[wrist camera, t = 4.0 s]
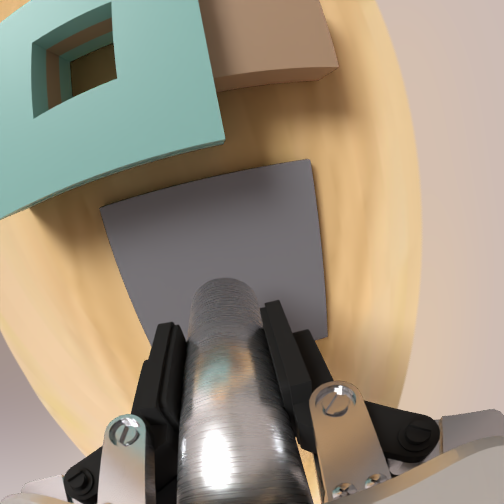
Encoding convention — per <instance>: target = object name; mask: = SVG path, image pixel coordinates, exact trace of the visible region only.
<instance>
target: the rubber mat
mask: <svg viewBox="0 0 504 504" xmlns="http://www.w3.org/2000/svg"><path fill="white" fill-rule="evenodd" d="M99 209H100V213H101V216H102V220H103V223H104V226H105V230H106V233H107V236H108V239H109V242H110V245H111V248H112V251H113V254H114V257H115V260H116V263H117V266H118V268H119V271H120V274H121V276H122V279H123V282H124V284H125V287H126V289H127V292H128V294H129V297H130V299H131V302H132V304H133V307H134V309H135V311H136V314H137V316H138V318H139V320H140V323H141V325H142V327H143V329H144V332H145V334H146V336H147V338H148V340H149V342H150V344H151V346H152V344H153V340H154V336H155V333H156V329H157V326H158V324H161V323H167V322H174V324H175V325H180V327H181V330H182V332H183V335H184V337H185V339H186V342H187V337H188V328H189V320H190V312H191V305H192V299H193V296H194V294H195V292H196V291H197V290H198V289H199V288H200V287H201V286H202V285H203V284H204V283H206V282H208V281H210V280H213V279H216V278H234V279H237V280H240V281H242V282H244V283H246V284H247V285H248V286H249V287H250V288H251V289H252V290H253V291H254V293H255V295H256V297H257V300H258V304H259V308H263V307H265V305H264V303H267V302H271V301H275V300H279V301H280V303H281V305H282V308H283V310H284V313H285V315H286V318H287V320H288V323H289V325H290V328H291V331H292V333H294V332H298V331H302V330H306V329H309V331H310V332H311V334H312V336H313V339H314V341H315V340H318V339H322V338H325V337H328V332H327V312H326V296H325V282H324V269H323V258H322V247H321V238H320V229H319V220H318V212H317V204H316V196H315V189H314V182H313V175H312V168H311V162H310V159H305V160H298V161H292V162H285V163H279V164H273V165H268V166H262V167H257V168H251V169H246V170H241V171H236V172H231V173H227V174H222V175H217V176H213V177H208V178H204V179H200V180H195V181H191V182H187V183H183V184H179V185H175V186H171V187H167V188H164V189H160V190H156V191H153V192H149V193H145V194H142V195H138V196H135V197H132V198H128V199H125V200H122V201H118V202H115V203H112V204H109V205H106V206H103V207H101V208H99Z"/></svg>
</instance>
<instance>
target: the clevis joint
mask: <svg viewBox="0 0 504 504" xmlns="http://www.w3.org/2000/svg"><path fill="white" fill-rule="evenodd" d="M111 43H114V54H115V64H116V73H117V79H114V80H112V81H109V82H107V83H104V84H102V85H99V86H97V87H95V88H92V89H90V90H88V91H86V92H84V93H81V94H79V95H77V96H75V97H73V96H72V85H71V70H70V62H71V61H73V60H75V59H77V58H80V57H82V56H84V55H86V54H88V53H90V52H92V51H95V50H97V49H99V48H102V47H104V46H106V45H109V44H111ZM338 67H339V65H338V61H337V57H336V53H335V49H334V46H333V42H332V39H331V35H330V32H329V29H328V25H327V22H326V19H325V16H324V13H323V10H322V7H321V4H320V2H319V0H31V1H29V2H28V3H26V4H25V5H23V6H22V7H21V8H19V9H18V10H16V11H15V12H14V13H12V14H11V15H10V16H8V17H7V18H6V19H5V20H3V21H2V22H1V23H0V220H1V219H4V218H6V217H8V216H11V215H13V214H15V213H18V212H20V211H23V210H25V209H28V208H30V207H32V206H34V205H36V204H39V203H41V202H43V201H45V200H47V199H50V198H52V197H54V196H57V195H59V194H61V193H64V192H66V191H69V190H71V189H74V188H76V187H79V186H81V185H84V184H87V183H89V182H92V181H95V180H98V179H100V178H103V177H106V176H109V175H112V174H115V173H118V172H121V171H124V170H127V169H130V168H133V167H136V166H140V165H143V164H146V163H150V162H153V161H157V160H160V159H164V158H168V157H171V156H175V155H179V154H183V153H187V152H191V151H195V150H199V149H204V148H208V147H213V146H217V145H222V144H224V141H225V134H224V129H223V124H222V119H221V114H220V109H219V104H218V99H217V94H216V92H221V91H227V90H232V89H239V88H245V87H252V86H259V85H267V84H277V83H287V82H300V81H318V80H320V79H321V78H323V77H324V76H326V75H327V74H329V73H331V72H332V71H334V70H335V69H337V68H338Z"/></svg>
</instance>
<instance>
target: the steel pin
mask: <svg viewBox="0 0 504 504" xmlns="http://www.w3.org/2000/svg"><path fill="white" fill-rule="evenodd" d="M177 504H314V503H313V500H312V496H311V493H310V489H309V486H308V482H307V479H306V475H305V472H304V468H303V465H302V461H301V457H300V454H299V450H298V447H297V443H296V440H295V436H294V432H293V429H292V425H291V422H290V418H289V415H288V413H287V412H286V411H285V408H284V404H283V400H282V396H281V393H280V389H279V385H278V381H277V378H276V374H275V370H274V366H273V362H272V359H271V355H270V351H269V347H268V343H267V340H266V336H265V332H264V328H263V323H262V319H261V314H260V309H259V304H258V300H257V297H256V295H255V293H254V291H253V290H252V289H251V288H250V287H249V286H248V285H247V284H246V283H244V282H242V281H240V280H237V279H234V278H216V279H213V280H210V281H208V282H206V283H204V284H203V285H202V286H201V287H200V288H199V289H198V290H197V291H196V292H195V294H194V296H193V299H192V305H191V312H190V320H189V328H188V337H187V346H186V355H185V365H184V375H183V386H182V398H181V411H180V425H179V443H178V466H177Z"/></svg>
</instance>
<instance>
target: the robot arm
mask: <svg viewBox="0 0 504 504" xmlns="http://www.w3.org/2000/svg"><path fill="white" fill-rule="evenodd" d="M264 305H265V307H263V308H259V309H260V314H261V319H262V323H263V328H264V332H265V336H266V340H267V343H268V347H269V351H270V355H271V359H272V362H273V366H274V370H275V374H276V378H277V381H278V385H279V389H280V393H281V396H282V400H283V404H284V408H285V411H286V412H287V413H288V415H289V418H290V422H291V425H292V429H293V432H294V436H295V437H297V441H298V444H300V446H301V448H302V449H304V450H307V451H309V452H312V455H313V461H314V466H315V472H316V477H317V483H318V489H319V494H320V500H321V504H504V415H503V414H502V413H501V412H500V411H497V410H495V409H489V410H483V411H478V412H472V413H466V414H459V415H452V416H442V418H441V419H440V420H433V419H432V418H431V417H428V416H426V415H422V414H417V413H412V412H408V411H403V410H399V409H395V408H391V407H387V406H383V405H379V404H375V403H372V402H368V401H364V400H363V398H362V395H361V393H360V391H359V390H358V388H356V387H355V386H354V385H352V384H350V383H348V382H344V381H334V380H333V378H332V376H331V374H330V372H329V370H328V368H327V366H326V364H325V361H324V359H323V357H322V355H321V353H320V351H319V349H318V347H317V345H316V343H315V341H314V339H313V336H312V334H311V332H310V331H309V329H306V330H302V331H298V332H294V333H292V331H291V328H290V325H289V323H288V320H287V318H286V315H285V313H284V310H283V308H282V305H281V303H280V301H279V300H275V301H271V302H267V303H264ZM186 346H187V342H186V339H185V337H184V335H183V332H182V330H181V327H180V325H175V324H174V322H167V323H161V324H158V326H157V329H156V333H155V336H154V340H153V344H152V348H151V352H150V355H149V359H148V360H145V361H144V363H143V366H142V370H141V374H140V378H139V382H138V386H137V390H136V394H135V398H134V402H133V407H132V411H131V414H125V415H121V416H119V417H117V418H115V419H114V420H112V421H111V422H110V423H109V425H108V426H107V428H106V431H105V435H104V442H103V446H101V447H100V448H99V449H97V450H96V451H94V452H93V453H92V454H90V455H89V456H87V457H86V458H84V459H83V460H82V461H80V462H79V463H77V464H76V465H74V466H73V467H71V468H70V469H69V470H68V471H67V473H66V474H65V476H63V475H62V474H60V475H57V476H53V477H49V478H45V479H40V480H36V481H31V482H28V483H26V484H25V485H24V486H23V487H22V490H21V493H18V494H12V495H9V496H7V497H5V498H4V499H3V500H2V501H1V502H0V504H177V466H178V443H179V425H180V411H181V398H182V386H183V375H184V365H185V355H186Z"/></svg>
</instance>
